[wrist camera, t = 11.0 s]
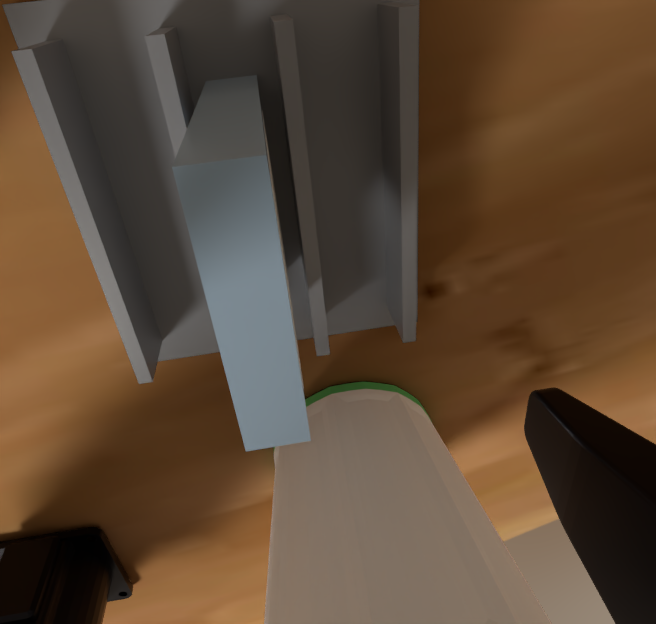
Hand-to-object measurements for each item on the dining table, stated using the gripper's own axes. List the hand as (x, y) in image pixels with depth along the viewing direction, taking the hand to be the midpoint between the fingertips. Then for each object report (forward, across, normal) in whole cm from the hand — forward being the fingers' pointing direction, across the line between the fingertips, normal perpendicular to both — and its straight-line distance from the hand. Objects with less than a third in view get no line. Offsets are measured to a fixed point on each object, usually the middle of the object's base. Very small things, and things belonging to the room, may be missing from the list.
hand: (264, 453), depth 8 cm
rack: (+13, 0, 0) cm, 13 cm away
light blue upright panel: (+12, 0, 0) cm, 12 cm away
